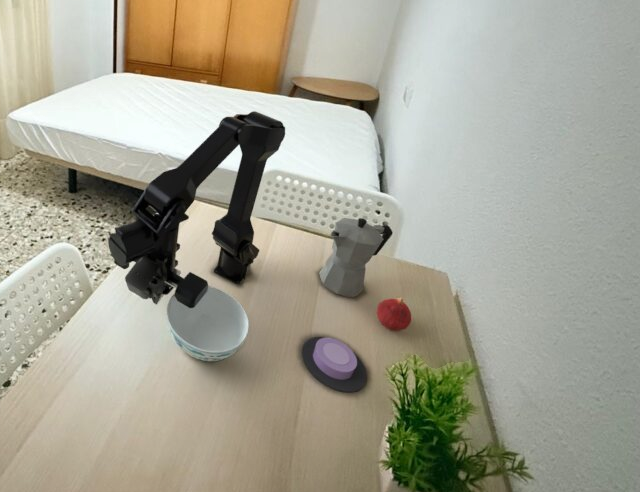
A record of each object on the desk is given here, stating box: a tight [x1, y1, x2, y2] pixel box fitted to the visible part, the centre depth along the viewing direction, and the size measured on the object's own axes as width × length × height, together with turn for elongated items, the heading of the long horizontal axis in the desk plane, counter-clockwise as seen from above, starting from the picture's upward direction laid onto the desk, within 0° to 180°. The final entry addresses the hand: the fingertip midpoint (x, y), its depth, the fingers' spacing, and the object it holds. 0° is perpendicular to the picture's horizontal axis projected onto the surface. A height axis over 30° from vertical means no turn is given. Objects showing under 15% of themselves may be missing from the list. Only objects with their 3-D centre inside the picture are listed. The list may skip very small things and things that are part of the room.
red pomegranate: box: [376, 296, 412, 332], centre depth 81 cm, size 6×6×8 cm
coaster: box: [301, 336, 368, 393], centre depth 75 cm, size 11×11×1 cm
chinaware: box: [166, 285, 250, 362], centre depth 76 cm, size 15×15×8 cm
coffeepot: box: [319, 217, 393, 298], centre depth 90 cm, size 15×9×18 cm, turn 101°
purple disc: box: [313, 337, 357, 380], centre depth 74 cm, size 7×7×2 cm
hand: (156, 302), depth 82 cm, fingers closed
